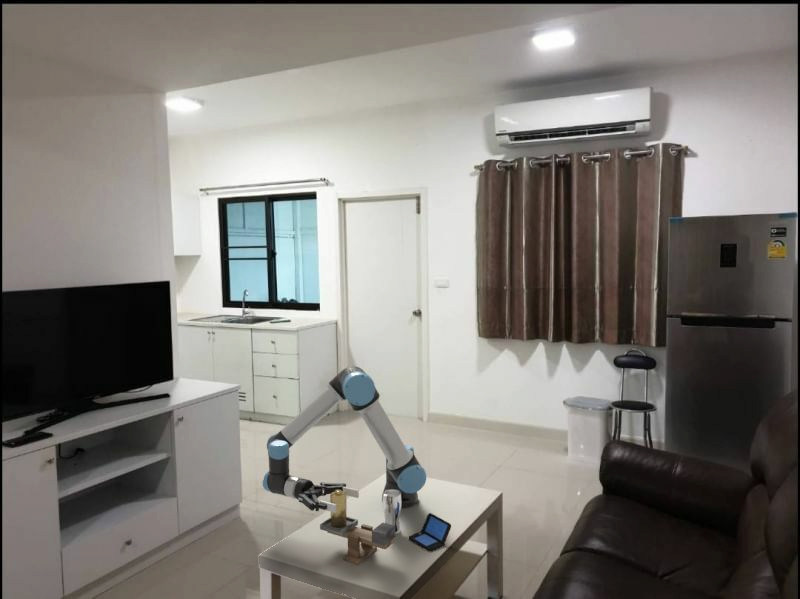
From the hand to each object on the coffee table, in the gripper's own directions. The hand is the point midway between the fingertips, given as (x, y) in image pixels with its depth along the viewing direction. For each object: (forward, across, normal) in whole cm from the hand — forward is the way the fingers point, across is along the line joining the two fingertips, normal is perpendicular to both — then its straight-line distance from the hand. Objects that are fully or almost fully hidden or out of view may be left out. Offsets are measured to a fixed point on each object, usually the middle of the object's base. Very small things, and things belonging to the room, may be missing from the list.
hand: (347, 501), depth 210 cm
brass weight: (-4, 0, -9) cm, 10 cm away
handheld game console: (+22, -20, -18) cm, 35 cm away
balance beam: (+5, 0, -12) cm, 13 cm away
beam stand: (+5, 0, -18) cm, 19 cm away
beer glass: (+6, -20, -18) cm, 28 cm away
